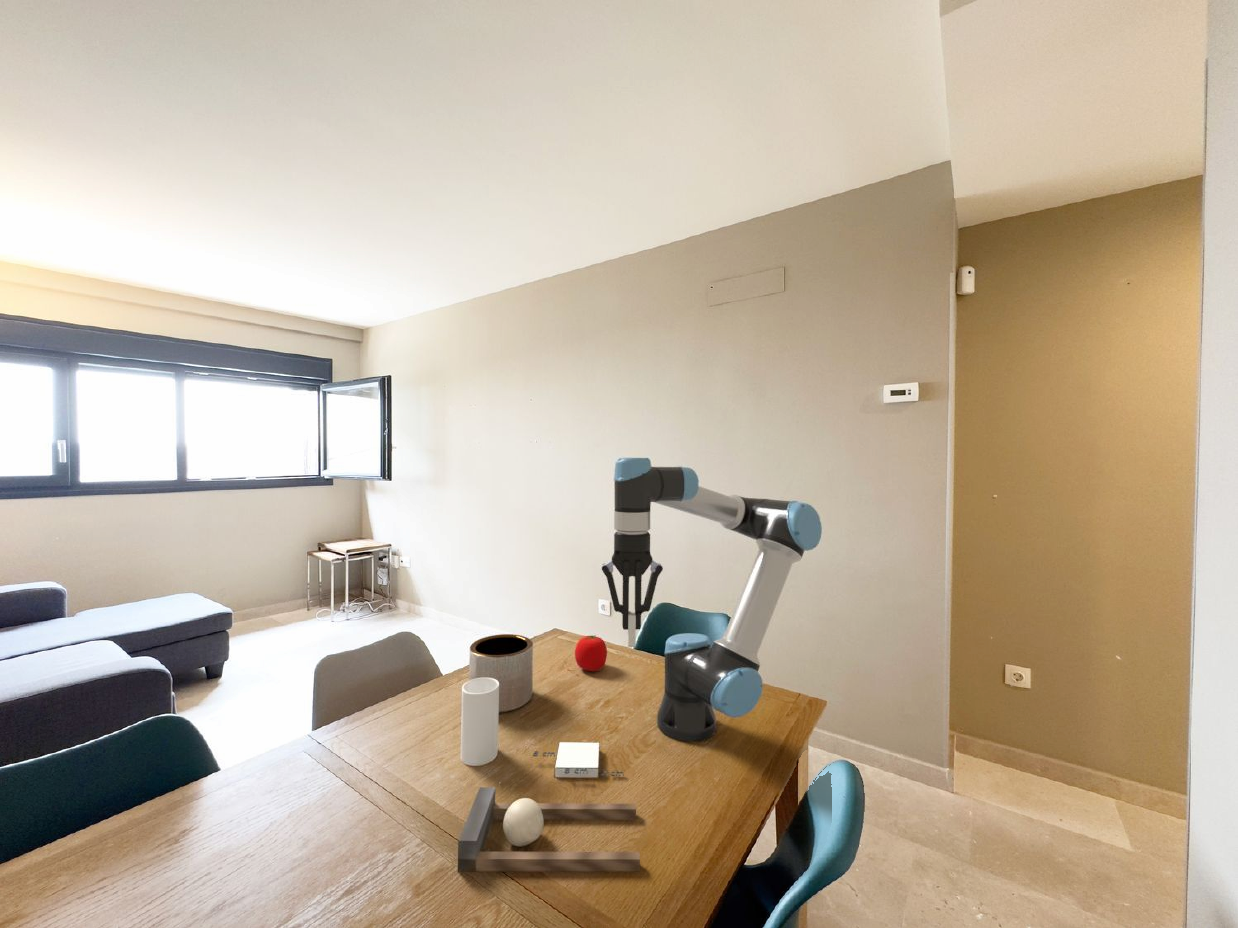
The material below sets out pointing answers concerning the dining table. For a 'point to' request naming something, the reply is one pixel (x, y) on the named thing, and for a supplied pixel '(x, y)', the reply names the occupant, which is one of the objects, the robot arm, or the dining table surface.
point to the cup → (479, 721)
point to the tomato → (591, 653)
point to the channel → (540, 861)
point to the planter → (505, 667)
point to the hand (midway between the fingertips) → (631, 644)
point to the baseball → (523, 822)
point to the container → (577, 760)
